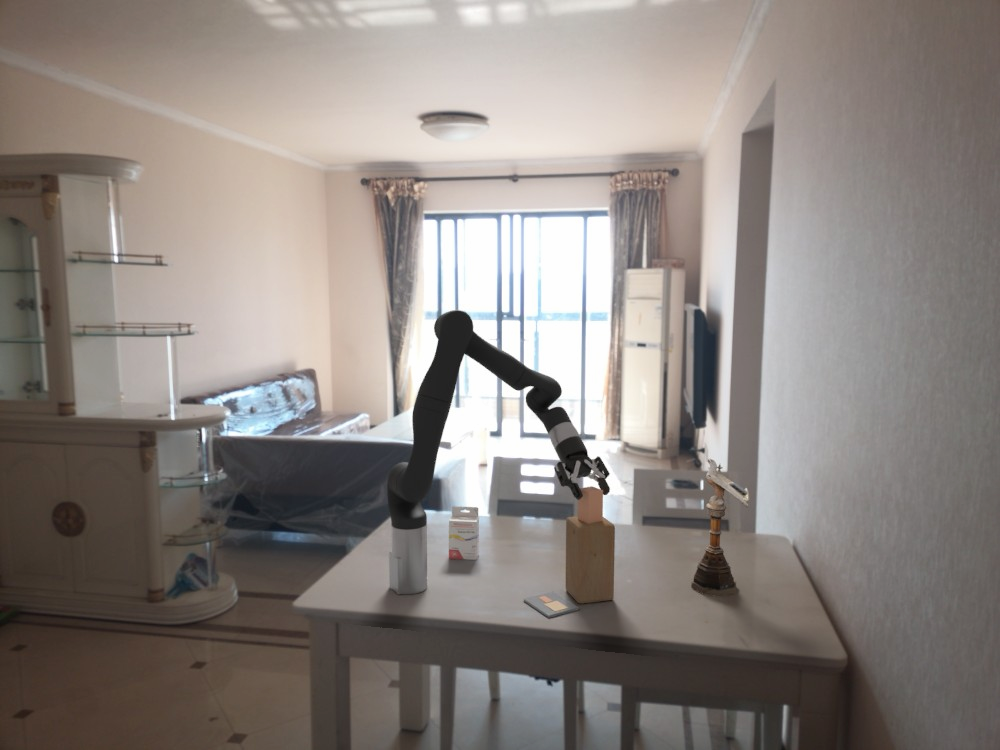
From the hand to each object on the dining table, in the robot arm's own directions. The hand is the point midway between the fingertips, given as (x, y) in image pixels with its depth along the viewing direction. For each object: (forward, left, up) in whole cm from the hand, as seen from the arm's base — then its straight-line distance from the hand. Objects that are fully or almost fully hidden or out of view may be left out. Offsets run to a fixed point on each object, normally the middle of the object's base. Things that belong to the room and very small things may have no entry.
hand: (593, 495), depth 177 cm
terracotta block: (0, +1, -7) cm, 7 cm away
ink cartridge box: (-15, +42, -27) cm, 52 cm away
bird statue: (+34, -13, -27) cm, 45 cm away
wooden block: (0, +1, -27) cm, 27 cm away
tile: (-12, +1, -27) cm, 29 cm away
